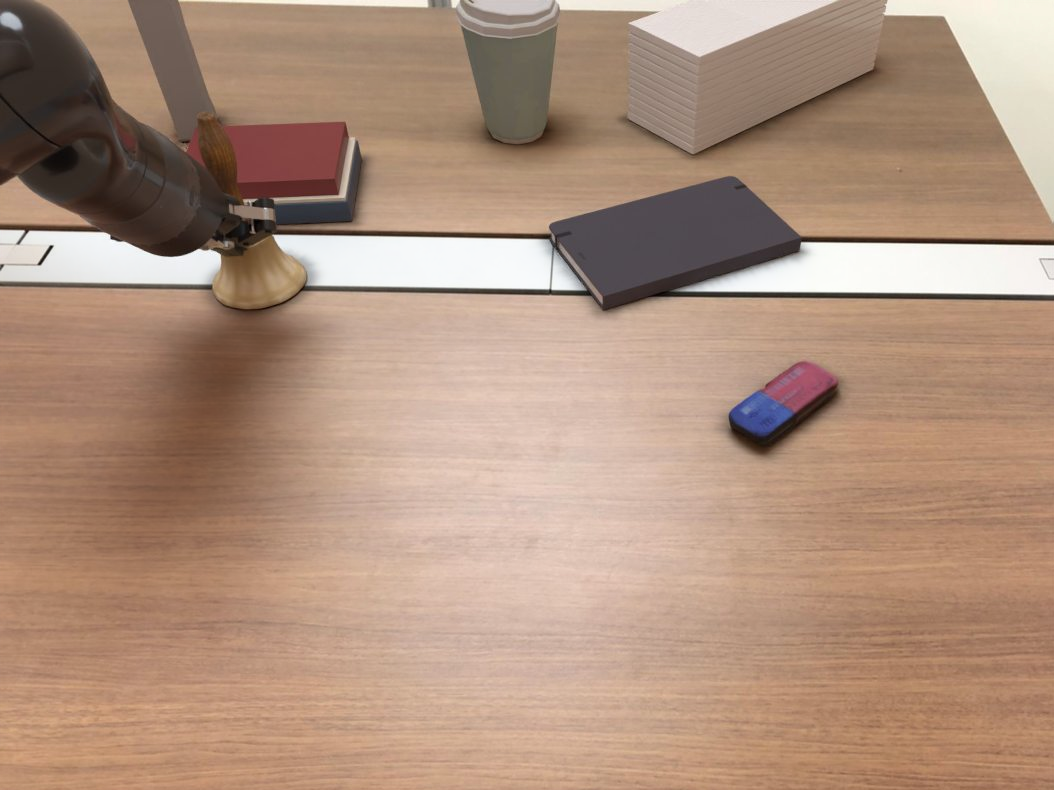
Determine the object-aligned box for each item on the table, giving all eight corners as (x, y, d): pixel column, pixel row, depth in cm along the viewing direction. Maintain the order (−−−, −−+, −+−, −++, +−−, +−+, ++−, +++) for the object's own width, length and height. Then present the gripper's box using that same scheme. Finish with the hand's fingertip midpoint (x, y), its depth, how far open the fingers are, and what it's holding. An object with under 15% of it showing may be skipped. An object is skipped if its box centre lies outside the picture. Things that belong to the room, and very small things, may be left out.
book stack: (352, 221, 92) (342, 181, 89) (184, 229, 91) (168, 188, 88) (362, 159, 100) (353, 120, 97) (208, 165, 99) (194, 125, 95)
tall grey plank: (218, 117, 105) (132, -139, 87) (216, 139, 102) (127, -122, 84) (183, 121, 105) (89, -136, 86) (180, 143, 102) (83, -119, 83)
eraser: (805, 366, 79) (809, 350, 78) (844, 389, 77) (848, 373, 76) (718, 429, 74) (721, 413, 72) (758, 456, 72) (761, 439, 70)
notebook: (602, 310, 84) (800, 250, 90) (602, 296, 82) (802, 237, 89) (546, 237, 91) (732, 187, 98) (545, 223, 90) (734, 173, 97)
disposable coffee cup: (531, 100, 110) (522, -37, 99) (584, 137, 104) (581, -4, 93) (453, 125, 105) (434, -15, 94) (503, 166, 100) (489, 22, 89)
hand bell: (218, 260, 88) (156, 95, 76) (309, 252, 89) (261, 88, 77) (207, 314, 82) (138, 146, 70) (304, 305, 83) (253, 138, 71)
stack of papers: (808, 41, 122) (821, -48, 114) (873, 69, 117) (892, -22, 109) (627, 119, 107) (628, 22, 99) (692, 155, 102) (699, 56, 94)
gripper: (237, 127, 63) (309, 196, 80) (34, 136, 62) (150, 204, 79) (246, 239, 63) (316, 284, 81) (44, 249, 62) (158, 292, 80)
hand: (233, 244), depth 80 cm, fingers closed
